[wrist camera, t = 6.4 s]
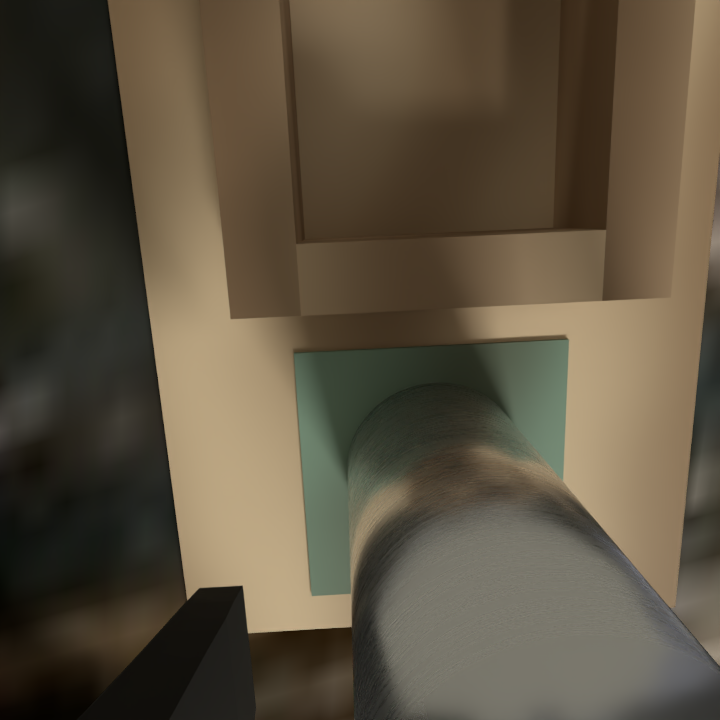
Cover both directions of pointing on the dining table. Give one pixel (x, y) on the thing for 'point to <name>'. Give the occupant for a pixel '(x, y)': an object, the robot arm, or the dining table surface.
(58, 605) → the dining table surface
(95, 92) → the dining table surface
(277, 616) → the pocket board
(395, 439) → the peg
